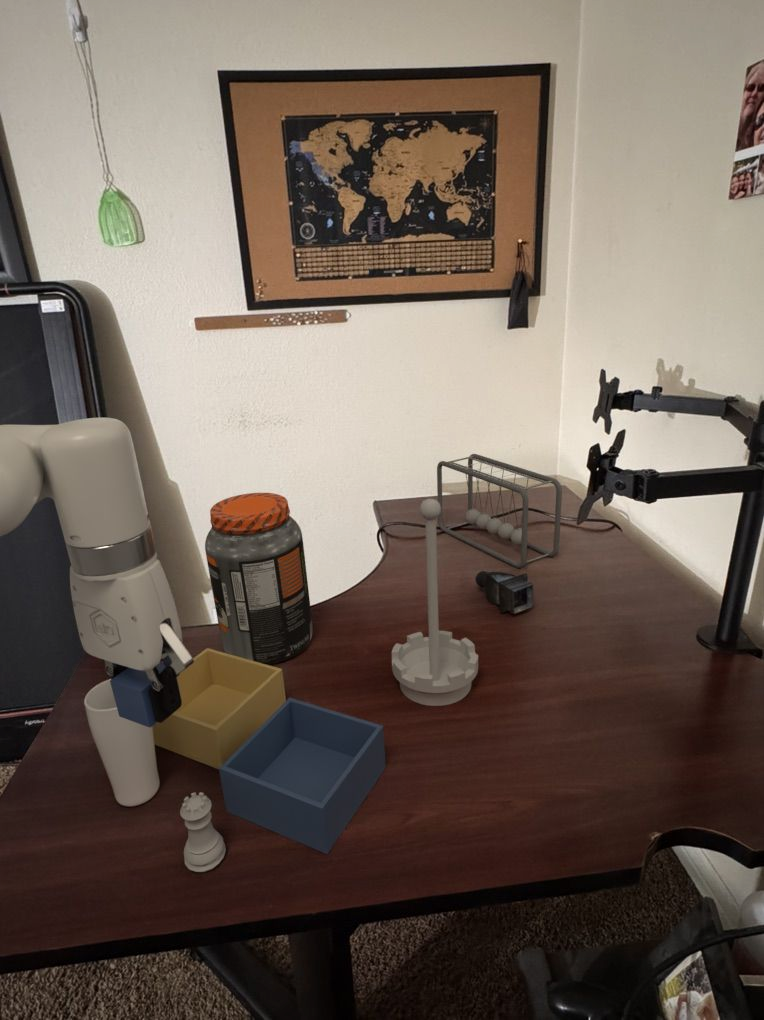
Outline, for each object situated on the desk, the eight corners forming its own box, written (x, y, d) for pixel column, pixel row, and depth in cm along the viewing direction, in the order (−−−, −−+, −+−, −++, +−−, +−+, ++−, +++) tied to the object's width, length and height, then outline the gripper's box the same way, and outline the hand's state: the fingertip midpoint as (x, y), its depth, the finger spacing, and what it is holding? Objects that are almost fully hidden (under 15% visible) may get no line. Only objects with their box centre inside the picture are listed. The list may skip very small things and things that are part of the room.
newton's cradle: (559, 559, 135) (563, 480, 129) (523, 572, 130) (525, 491, 124) (470, 519, 159) (470, 451, 153) (437, 529, 154) (435, 459, 148)
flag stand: (486, 706, 91) (488, 512, 80) (396, 714, 90) (386, 519, 80) (468, 655, 103) (468, 481, 92) (389, 662, 102) (379, 487, 92)
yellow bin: (223, 771, 81) (215, 729, 79) (144, 740, 88) (135, 701, 85) (287, 706, 93) (282, 668, 91) (213, 683, 99) (207, 647, 97)
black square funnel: (491, 583, 126) (491, 554, 124) (537, 610, 115) (538, 578, 113) (465, 592, 123) (465, 562, 121) (510, 620, 112) (511, 588, 110)
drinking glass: (139, 766, 83) (116, 670, 78) (178, 781, 80) (157, 682, 75) (97, 803, 77) (69, 702, 72) (137, 821, 74) (111, 717, 69)
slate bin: (327, 854, 69) (322, 808, 66) (226, 811, 75) (218, 768, 73) (386, 767, 80) (383, 725, 78) (294, 736, 87) (289, 697, 84)
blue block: (150, 728, 63) (141, 691, 62) (119, 716, 65) (109, 680, 64) (182, 701, 67) (174, 665, 65) (151, 691, 69) (143, 656, 67)
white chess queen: (176, 862, 69) (163, 806, 66) (208, 833, 72) (197, 779, 69) (203, 882, 66) (191, 824, 64) (235, 851, 70) (225, 795, 67)
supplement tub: (235, 621, 117) (215, 490, 108) (319, 619, 116) (306, 486, 107) (210, 671, 102) (185, 524, 93) (306, 669, 102) (290, 520, 93)
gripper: (20, 553, 60) (66, 709, 67) (146, 581, 53) (185, 754, 59) (86, 525, 67) (123, 670, 73) (207, 546, 59) (236, 706, 65)
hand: (150, 706), depth 66 cm, fingers closed on blue block, 4 cm apart
